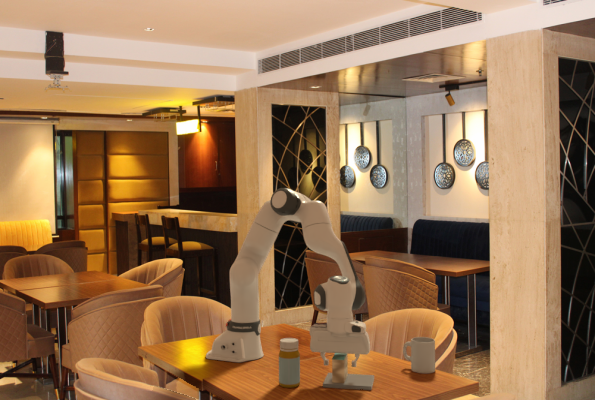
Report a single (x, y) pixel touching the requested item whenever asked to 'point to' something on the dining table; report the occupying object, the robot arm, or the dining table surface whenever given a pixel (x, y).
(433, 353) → the mug
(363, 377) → the board
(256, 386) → the dining table surface
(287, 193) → the robot arm
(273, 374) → the dining table surface
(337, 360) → the block
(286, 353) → the bottle
